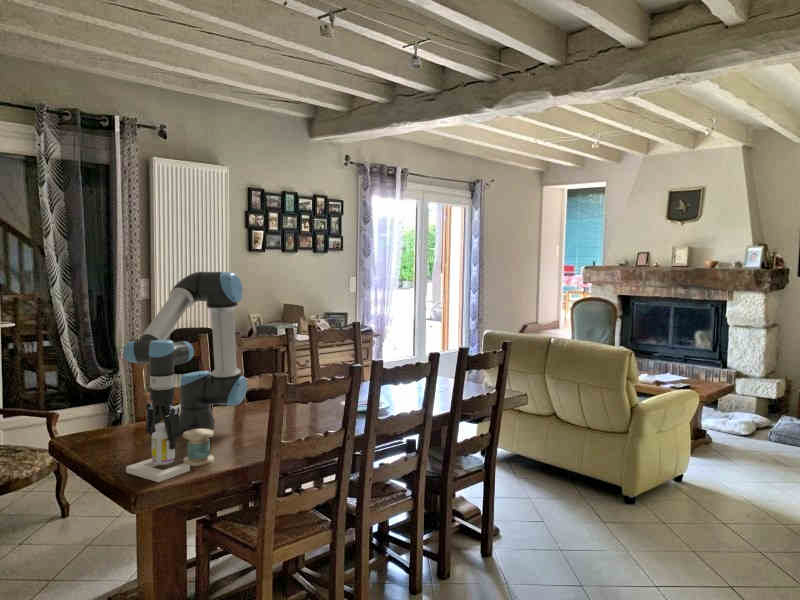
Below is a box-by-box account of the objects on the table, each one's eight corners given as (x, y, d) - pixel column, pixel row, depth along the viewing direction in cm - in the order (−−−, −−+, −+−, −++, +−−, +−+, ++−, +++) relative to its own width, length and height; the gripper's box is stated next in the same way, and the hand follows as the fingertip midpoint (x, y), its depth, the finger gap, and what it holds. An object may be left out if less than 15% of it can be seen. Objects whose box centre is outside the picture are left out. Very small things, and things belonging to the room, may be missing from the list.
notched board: (157, 462, 204) (157, 456, 203) (189, 470, 196) (189, 464, 195) (126, 472, 193) (126, 466, 193) (158, 482, 185) (158, 476, 185)
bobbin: (200, 454, 212) (199, 427, 211) (220, 459, 207) (219, 431, 206) (176, 462, 203) (176, 433, 202) (197, 468, 198) (196, 438, 197)
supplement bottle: (177, 459, 199) (177, 421, 198) (168, 466, 192) (167, 427, 192) (158, 458, 199) (157, 421, 199) (148, 465, 193) (147, 426, 192)
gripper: (132, 386, 196) (134, 454, 198) (172, 393, 186) (173, 465, 188) (152, 382, 203) (153, 448, 204) (192, 389, 193) (192, 458, 194)
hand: (163, 456), depth 196 cm, fingers closed on supplement bottle, 7 cm apart
